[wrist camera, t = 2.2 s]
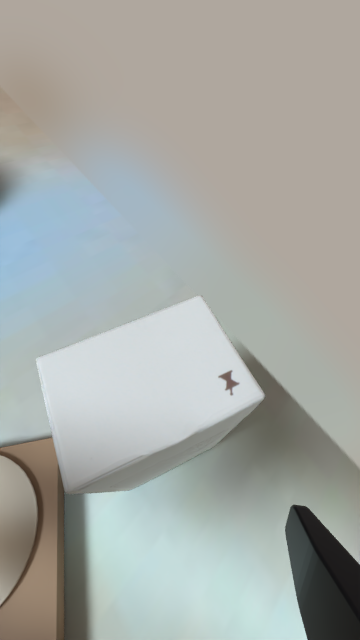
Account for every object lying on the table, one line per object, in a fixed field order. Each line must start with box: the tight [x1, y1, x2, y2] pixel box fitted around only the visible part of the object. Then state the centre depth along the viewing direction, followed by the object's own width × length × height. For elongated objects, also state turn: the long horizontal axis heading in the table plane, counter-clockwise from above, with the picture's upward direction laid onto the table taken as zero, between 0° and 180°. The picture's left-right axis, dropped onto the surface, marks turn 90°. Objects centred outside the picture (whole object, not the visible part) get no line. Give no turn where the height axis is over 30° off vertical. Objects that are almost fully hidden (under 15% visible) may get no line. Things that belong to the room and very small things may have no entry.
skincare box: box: [36, 295, 265, 495], centre depth 14 cm, size 6×4×12 cm
